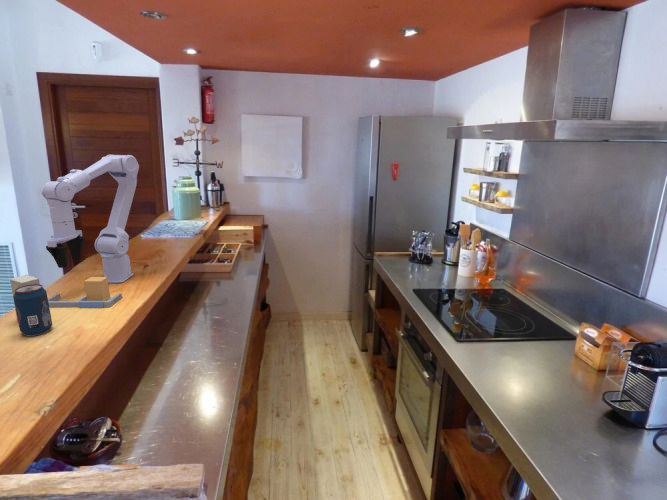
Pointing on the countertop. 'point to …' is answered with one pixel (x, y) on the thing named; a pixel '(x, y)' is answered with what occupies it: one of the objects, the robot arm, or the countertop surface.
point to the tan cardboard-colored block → (97, 289)
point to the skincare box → (22, 282)
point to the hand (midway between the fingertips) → (69, 263)
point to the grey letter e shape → (82, 302)
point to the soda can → (32, 309)
